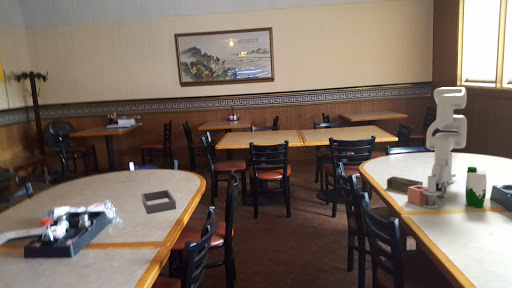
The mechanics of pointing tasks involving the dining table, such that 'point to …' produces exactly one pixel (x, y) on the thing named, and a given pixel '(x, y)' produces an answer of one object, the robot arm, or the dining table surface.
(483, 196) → the milk carton
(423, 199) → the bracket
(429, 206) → the silver flanged rod
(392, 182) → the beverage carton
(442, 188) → the gray square bar
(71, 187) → the dining table surface
